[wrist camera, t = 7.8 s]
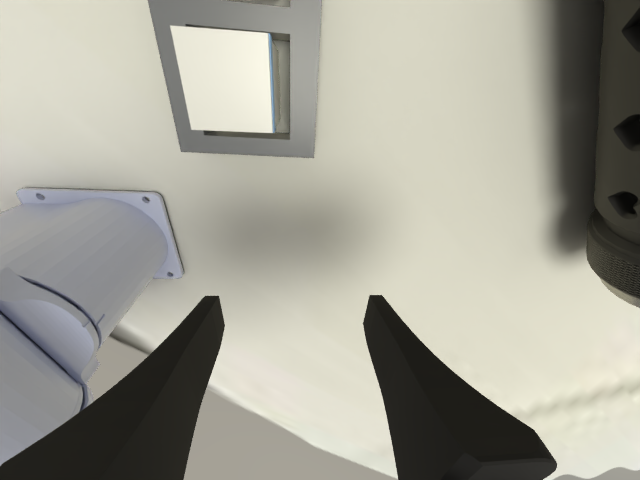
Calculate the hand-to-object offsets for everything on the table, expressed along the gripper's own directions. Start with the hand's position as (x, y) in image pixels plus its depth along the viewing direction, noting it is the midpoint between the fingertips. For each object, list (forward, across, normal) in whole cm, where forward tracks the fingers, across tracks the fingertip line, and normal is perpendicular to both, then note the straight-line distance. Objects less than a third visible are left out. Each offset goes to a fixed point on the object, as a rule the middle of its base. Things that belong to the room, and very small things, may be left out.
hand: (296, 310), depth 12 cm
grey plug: (+10, +3, -9) cm, 14 cm away
